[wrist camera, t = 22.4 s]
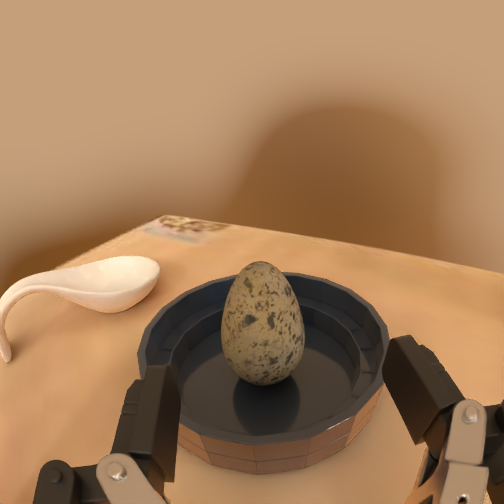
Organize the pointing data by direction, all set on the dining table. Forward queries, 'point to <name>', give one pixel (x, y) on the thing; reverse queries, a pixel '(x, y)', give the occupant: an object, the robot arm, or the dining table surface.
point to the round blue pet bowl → (277, 395)
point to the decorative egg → (262, 326)
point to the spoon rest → (87, 287)
